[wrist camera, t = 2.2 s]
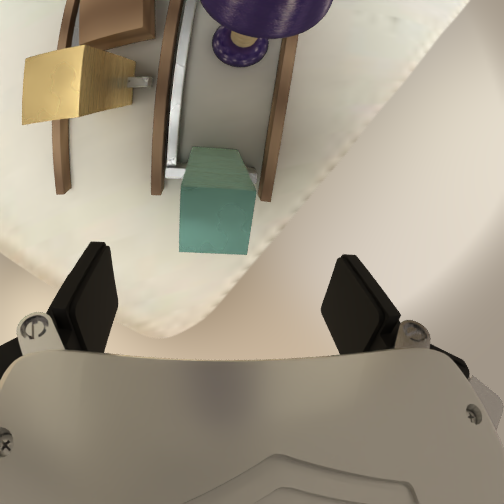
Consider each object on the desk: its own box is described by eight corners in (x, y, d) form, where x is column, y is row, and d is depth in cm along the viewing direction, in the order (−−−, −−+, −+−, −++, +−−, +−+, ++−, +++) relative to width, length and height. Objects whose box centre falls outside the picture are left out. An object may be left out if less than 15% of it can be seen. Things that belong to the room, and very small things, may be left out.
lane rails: (76, -5, 12) (69, -10, 10) (299, -4, 15) (305, -9, 14) (64, 188, 21) (56, 194, 20) (266, 194, 24) (270, 201, 23)
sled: (89, -12, 12) (32, -50, 3) (170, -22, 13) (149, -82, 5) (72, 108, 18) (-1, 129, 9) (150, 104, 19) (107, 115, 10)
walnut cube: (101, 5, 13) (80, -8, 9) (154, -8, 14) (143, -27, 10) (101, 51, 16) (79, 45, 12) (155, 38, 16) (142, 27, 12)
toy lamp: (215, 76, 18) (228, 32, 5) (196, 26, 16) (171, -97, 2) (274, 59, 18) (411, 13, 4) (256, 9, 16) (349, -107, 2)
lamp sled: (191, -13, 14) (181, -73, 5) (280, -3, 15) (327, -52, 7) (167, 187, 23) (145, 250, 14) (250, 192, 24) (274, 255, 16)
